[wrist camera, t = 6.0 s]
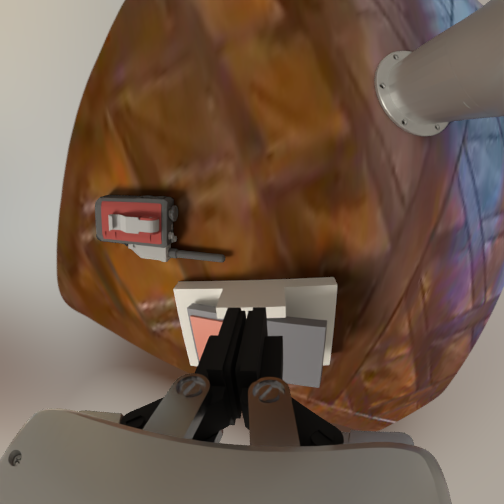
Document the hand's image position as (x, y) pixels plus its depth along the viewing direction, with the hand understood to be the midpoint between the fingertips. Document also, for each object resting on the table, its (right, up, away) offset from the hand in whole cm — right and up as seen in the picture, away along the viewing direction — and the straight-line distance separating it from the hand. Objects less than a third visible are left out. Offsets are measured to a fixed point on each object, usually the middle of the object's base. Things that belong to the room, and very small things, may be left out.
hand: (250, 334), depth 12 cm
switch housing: (+1, -7, +28) cm, 29 cm away
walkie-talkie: (-13, +7, +25) cm, 29 cm away
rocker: (0, -9, +23) cm, 24 cm away
